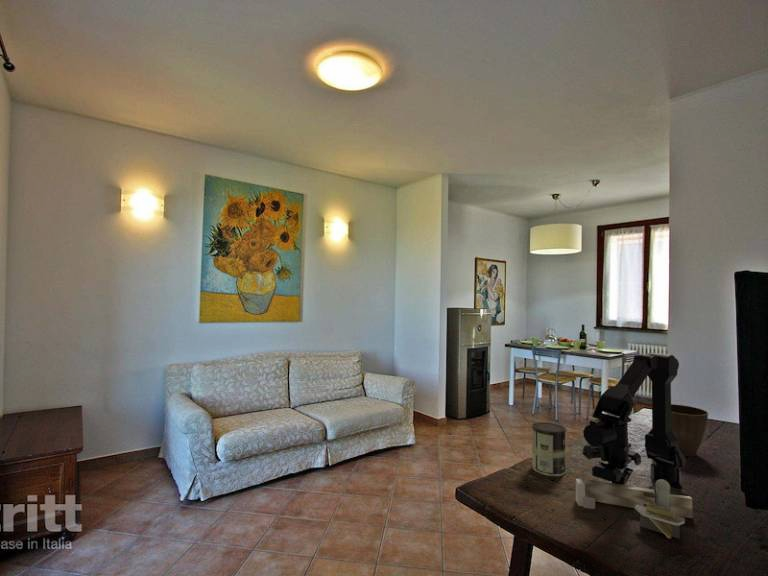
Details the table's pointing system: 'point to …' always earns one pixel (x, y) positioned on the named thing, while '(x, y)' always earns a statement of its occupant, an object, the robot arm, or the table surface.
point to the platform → (660, 520)
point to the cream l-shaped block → (583, 496)
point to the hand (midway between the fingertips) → (618, 494)
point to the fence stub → (681, 505)
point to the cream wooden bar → (619, 494)
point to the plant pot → (688, 427)
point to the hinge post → (663, 494)
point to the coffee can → (549, 449)
